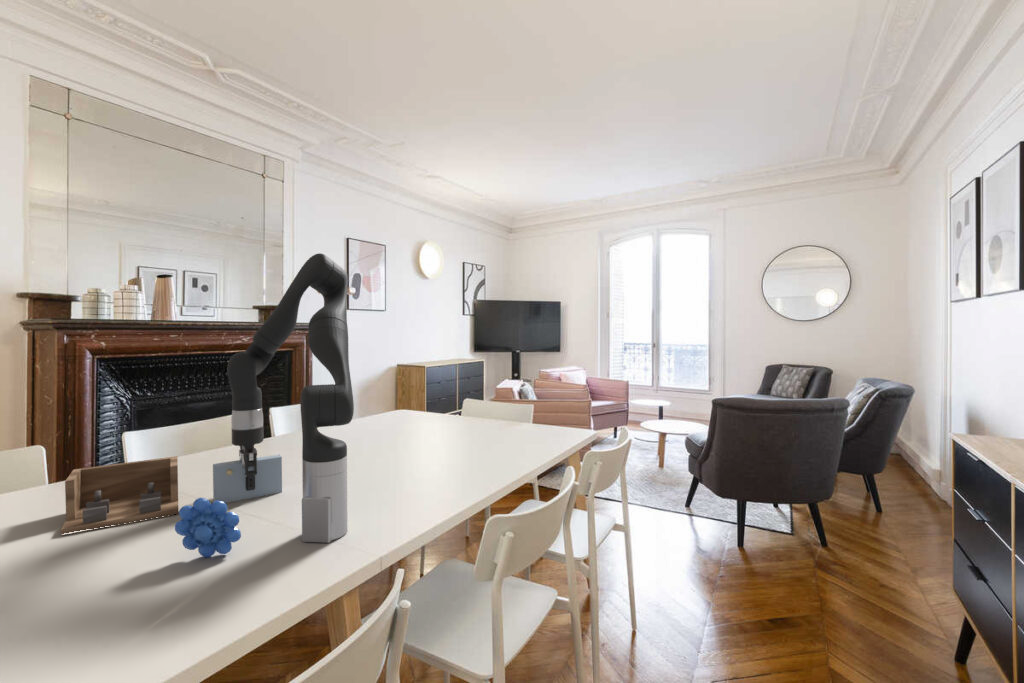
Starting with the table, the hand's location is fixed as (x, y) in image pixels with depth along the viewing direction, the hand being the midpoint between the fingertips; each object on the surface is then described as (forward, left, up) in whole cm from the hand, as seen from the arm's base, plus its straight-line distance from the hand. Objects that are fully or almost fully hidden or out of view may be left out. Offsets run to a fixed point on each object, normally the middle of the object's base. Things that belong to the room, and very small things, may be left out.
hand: (248, 485), depth 128 cm
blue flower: (-33, -14, -3) cm, 36 cm away
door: (0, 0, -3) cm, 3 cm away
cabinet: (-14, +22, -3) cm, 26 cm away
